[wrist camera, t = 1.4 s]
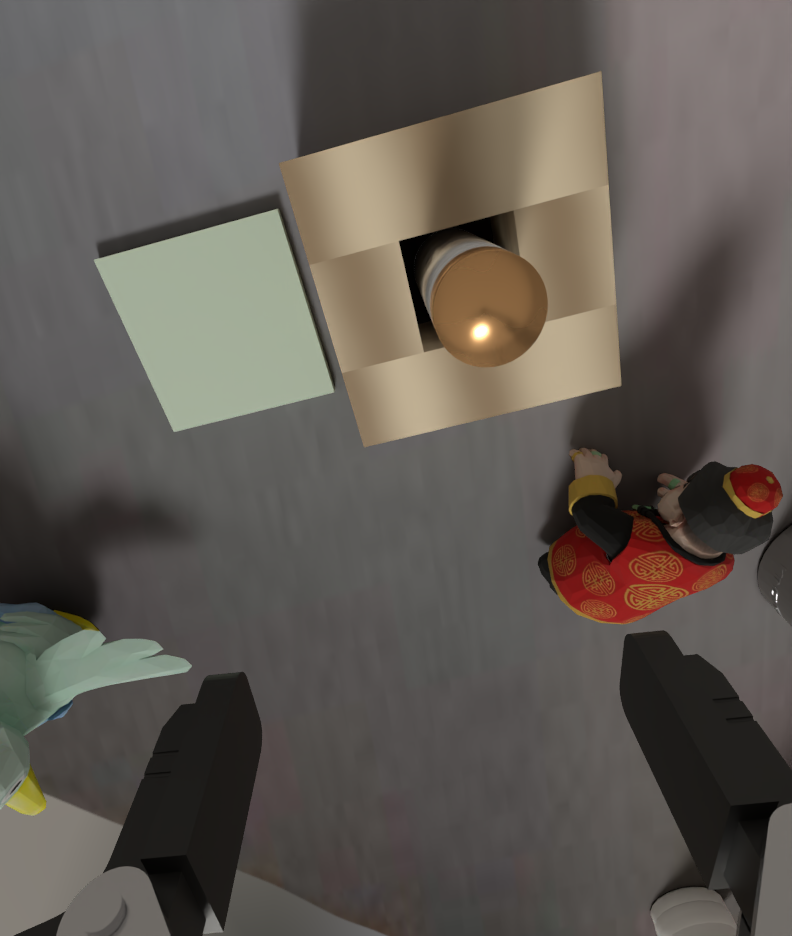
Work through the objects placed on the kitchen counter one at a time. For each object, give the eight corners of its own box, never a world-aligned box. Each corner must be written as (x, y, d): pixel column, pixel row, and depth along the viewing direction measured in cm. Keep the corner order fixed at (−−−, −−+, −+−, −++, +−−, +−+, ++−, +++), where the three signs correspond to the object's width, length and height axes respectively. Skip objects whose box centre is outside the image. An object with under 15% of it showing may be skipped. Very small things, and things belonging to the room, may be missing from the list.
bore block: (556, 94, 27) (601, 71, 21) (580, 353, 32) (621, 385, 27) (297, 168, 28) (278, 163, 22) (366, 406, 33) (364, 447, 28)
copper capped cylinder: (480, 219, 29) (540, 236, 18) (492, 295, 31) (554, 352, 20) (406, 239, 29) (422, 267, 19) (422, 313, 31) (445, 378, 20)
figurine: (628, 517, 42) (800, 394, 30) (656, 643, 37) (878, 553, 25) (515, 495, 40) (652, 352, 28) (528, 624, 35) (703, 516, 23)
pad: (279, 208, 28) (277, 208, 28) (335, 388, 33) (334, 392, 32) (98, 258, 29) (93, 260, 29) (177, 428, 34) (174, 432, 33)
